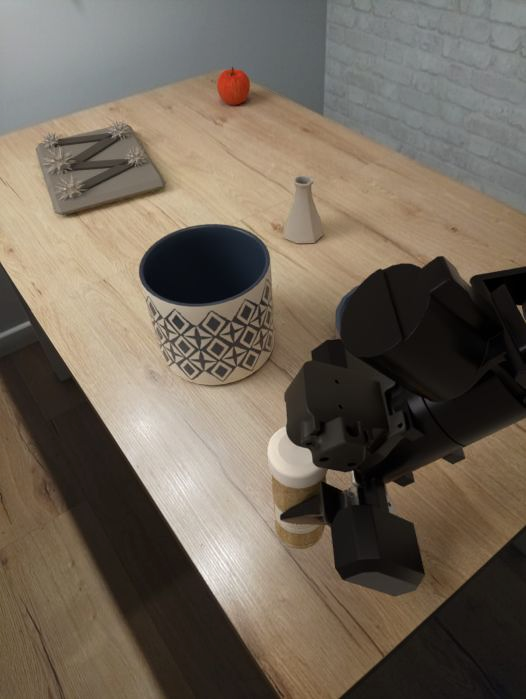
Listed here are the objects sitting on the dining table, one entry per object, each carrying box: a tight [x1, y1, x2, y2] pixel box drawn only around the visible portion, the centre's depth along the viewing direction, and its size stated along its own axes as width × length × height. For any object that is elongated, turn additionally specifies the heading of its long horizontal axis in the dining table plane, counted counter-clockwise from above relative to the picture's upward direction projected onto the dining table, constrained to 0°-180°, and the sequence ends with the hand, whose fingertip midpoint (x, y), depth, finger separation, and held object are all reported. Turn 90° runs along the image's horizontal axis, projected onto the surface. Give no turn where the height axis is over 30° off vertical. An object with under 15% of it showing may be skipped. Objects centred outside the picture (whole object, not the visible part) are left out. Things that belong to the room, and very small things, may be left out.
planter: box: [138, 223, 275, 386], centre depth 67 cm, size 16×16×14 cm
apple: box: [216, 66, 251, 106], centre depth 125 cm, size 8×8×8 cm
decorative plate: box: [34, 118, 168, 217], centre depth 105 cm, size 30×22×7 cm
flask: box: [282, 174, 325, 244], centre depth 85 cm, size 7×7×10 cm
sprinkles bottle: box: [266, 425, 329, 550], centre depth 42 cm, size 5×5×14 cm
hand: (282, 492), depth 42 cm, fingers closed on sprinkles bottle, 4 cm apart
